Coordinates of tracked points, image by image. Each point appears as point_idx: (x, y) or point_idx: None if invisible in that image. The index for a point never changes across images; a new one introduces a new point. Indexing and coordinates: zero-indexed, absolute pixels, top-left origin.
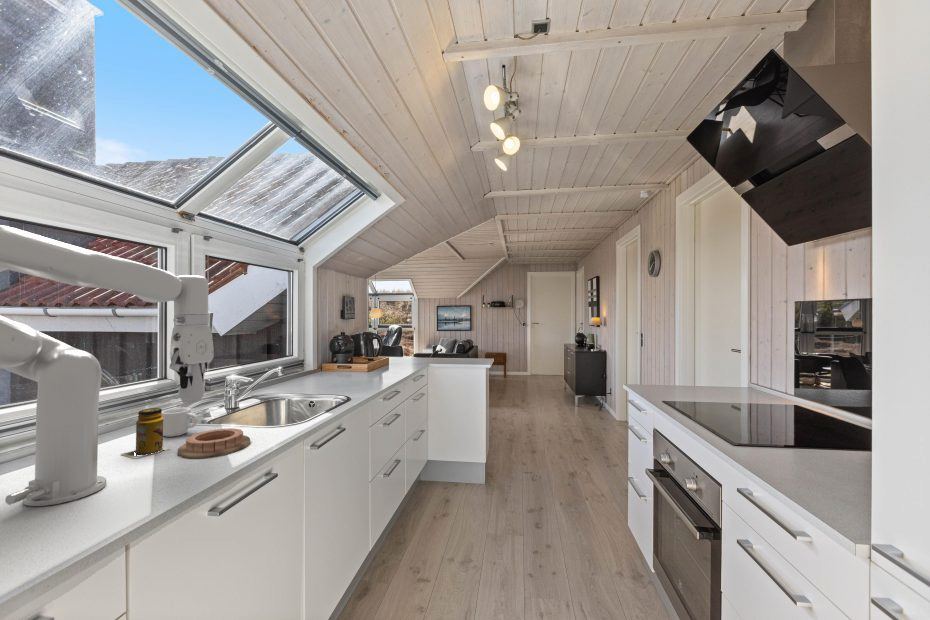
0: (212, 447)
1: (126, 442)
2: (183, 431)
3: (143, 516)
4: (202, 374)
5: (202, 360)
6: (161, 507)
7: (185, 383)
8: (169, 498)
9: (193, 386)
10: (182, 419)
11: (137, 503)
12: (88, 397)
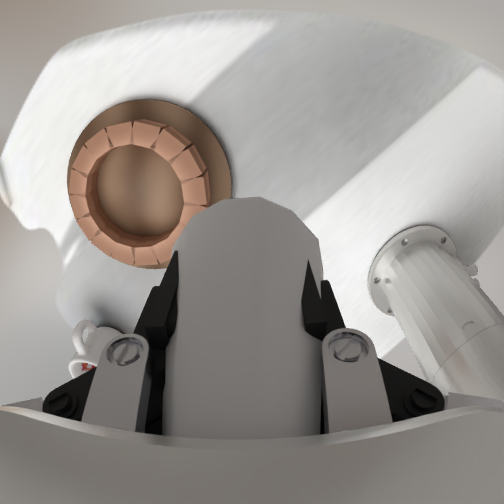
0: (193, 149)
1: None
2: (106, 329)
3: (485, 72)
4: (161, 319)
5: (186, 469)
6: (463, 61)
7: (335, 304)
8: (438, 66)
9: (300, 249)
10: (99, 349)
11: (456, 112)
12: None
